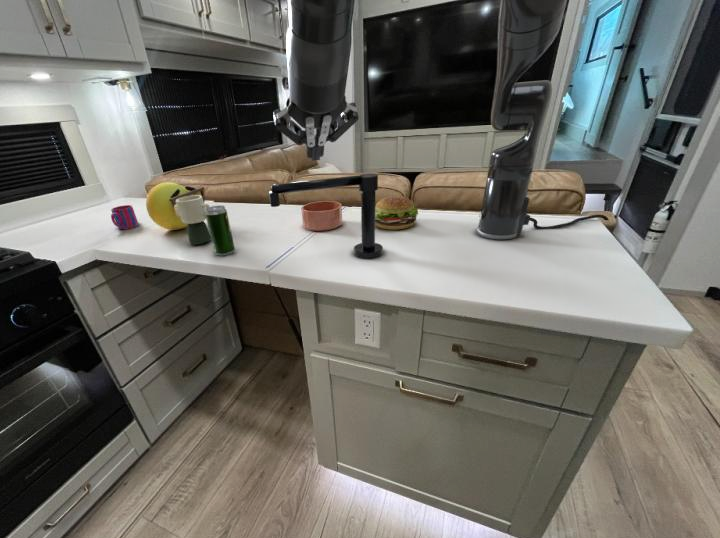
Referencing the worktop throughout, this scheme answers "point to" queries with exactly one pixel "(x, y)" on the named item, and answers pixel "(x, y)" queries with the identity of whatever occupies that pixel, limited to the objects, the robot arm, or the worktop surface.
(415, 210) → the food
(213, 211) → the beer can
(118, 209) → the cup
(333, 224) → the basin
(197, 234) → the character mug
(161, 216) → the emoji
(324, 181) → the spout
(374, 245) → the faucet base
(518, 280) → the worktop surface
